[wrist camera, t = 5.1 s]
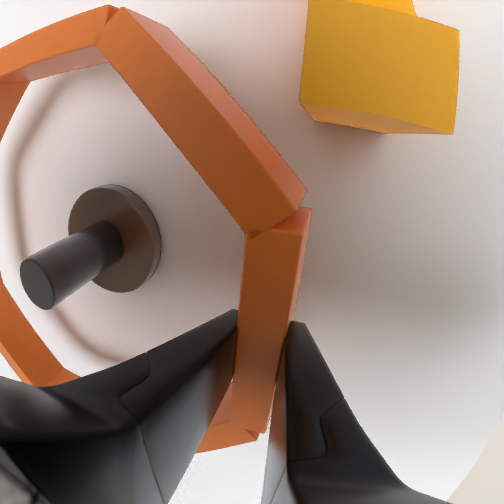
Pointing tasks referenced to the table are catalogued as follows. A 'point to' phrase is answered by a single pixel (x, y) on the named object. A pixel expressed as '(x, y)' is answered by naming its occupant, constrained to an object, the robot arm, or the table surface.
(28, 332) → the ring
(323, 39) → the pipe clamp
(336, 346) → the table surface
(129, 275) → the stake
